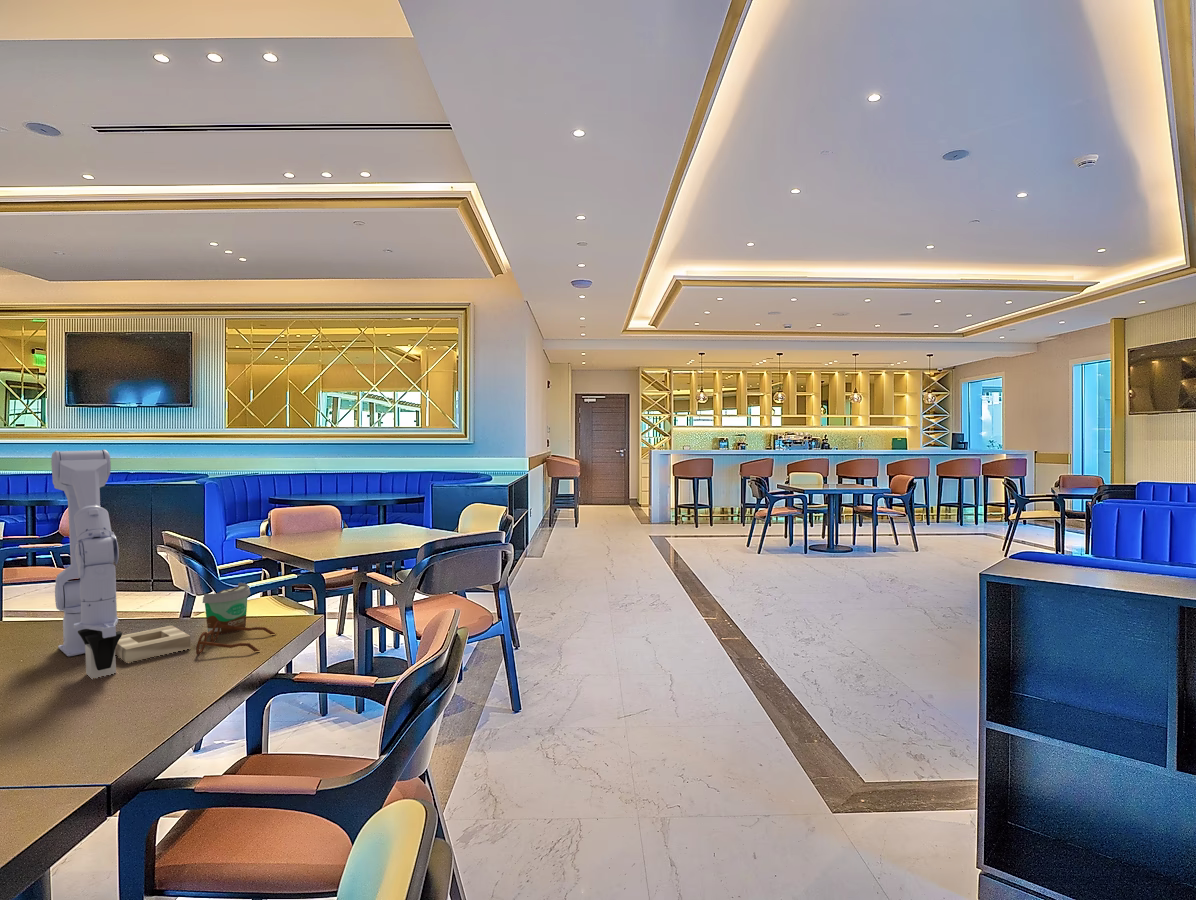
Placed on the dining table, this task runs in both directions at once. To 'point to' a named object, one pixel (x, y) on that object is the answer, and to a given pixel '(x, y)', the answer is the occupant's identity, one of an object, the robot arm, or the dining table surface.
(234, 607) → the food container
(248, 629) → the glasses
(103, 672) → the connector plug
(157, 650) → the holder
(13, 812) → the dining table surface
